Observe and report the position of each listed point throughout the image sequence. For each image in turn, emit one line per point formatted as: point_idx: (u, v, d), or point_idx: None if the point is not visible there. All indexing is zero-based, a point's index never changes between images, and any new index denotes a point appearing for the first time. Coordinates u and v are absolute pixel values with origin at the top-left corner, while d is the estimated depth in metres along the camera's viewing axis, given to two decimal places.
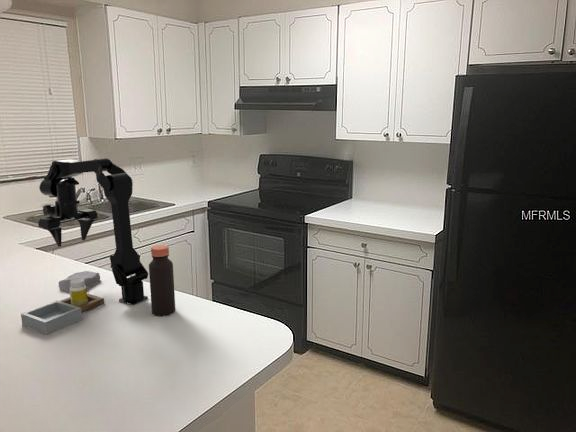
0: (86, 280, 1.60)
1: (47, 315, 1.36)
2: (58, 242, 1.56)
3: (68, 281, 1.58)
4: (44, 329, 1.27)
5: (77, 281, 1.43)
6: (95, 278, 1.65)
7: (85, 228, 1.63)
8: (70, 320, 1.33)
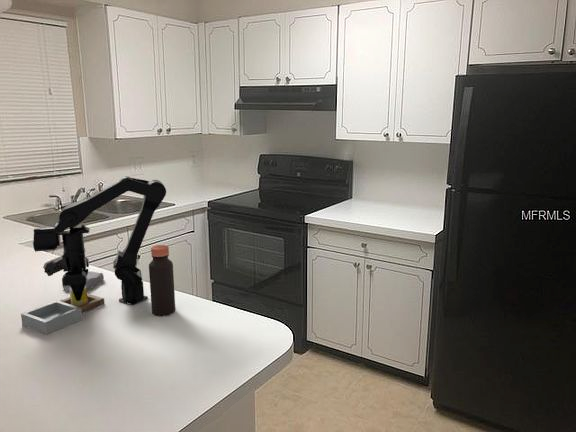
0: (90, 280, 1.60)
1: (47, 315, 1.36)
2: (80, 295, 1.41)
3: None
4: (44, 329, 1.27)
5: None
6: (98, 278, 1.64)
7: None
8: (70, 320, 1.33)
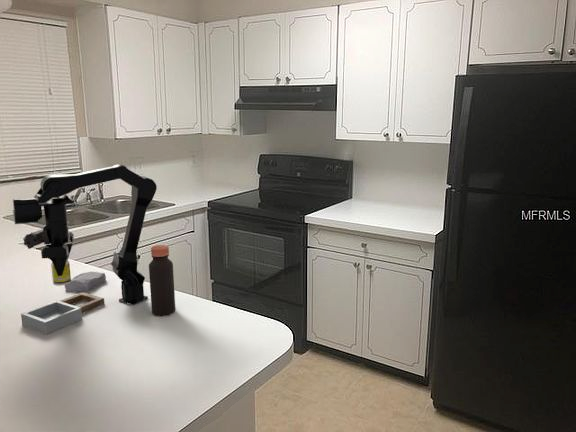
0: (92, 280, 1.59)
1: (47, 315, 1.36)
2: (61, 270, 1.34)
3: (74, 282, 1.57)
4: (44, 329, 1.27)
5: None
6: (101, 278, 1.64)
7: None
8: (70, 320, 1.33)
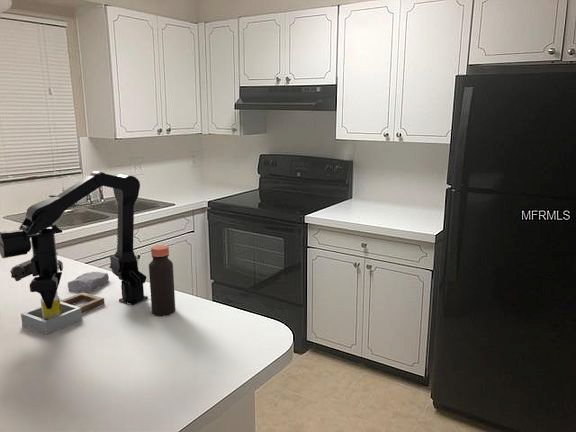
0: (95, 280, 1.59)
1: None
2: (51, 303, 1.29)
3: (77, 282, 1.57)
4: (44, 329, 1.27)
5: None
6: (104, 279, 1.64)
7: None
8: (70, 320, 1.33)
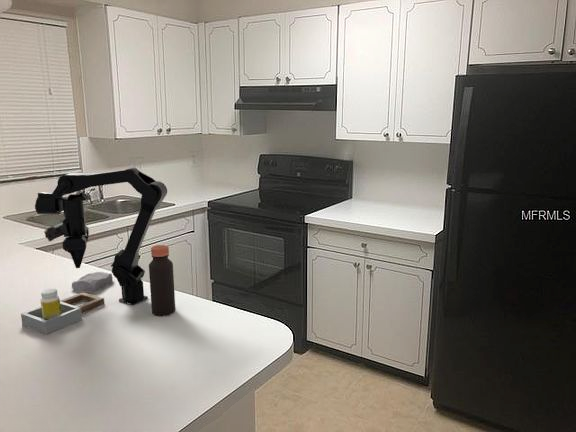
0: (100, 281, 1.59)
1: None
2: (79, 263, 1.43)
3: (82, 282, 1.57)
4: (44, 329, 1.27)
5: (49, 291, 1.32)
6: (108, 279, 1.64)
7: None
8: (70, 320, 1.33)
